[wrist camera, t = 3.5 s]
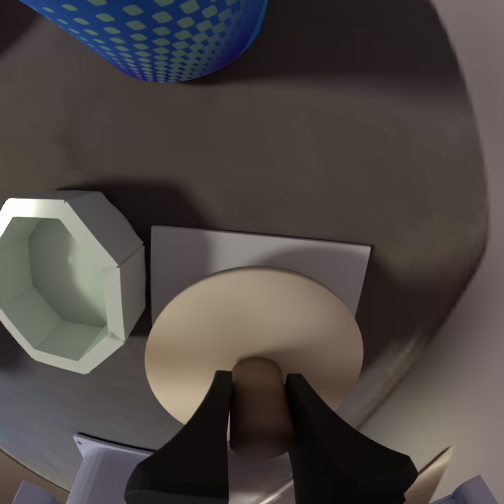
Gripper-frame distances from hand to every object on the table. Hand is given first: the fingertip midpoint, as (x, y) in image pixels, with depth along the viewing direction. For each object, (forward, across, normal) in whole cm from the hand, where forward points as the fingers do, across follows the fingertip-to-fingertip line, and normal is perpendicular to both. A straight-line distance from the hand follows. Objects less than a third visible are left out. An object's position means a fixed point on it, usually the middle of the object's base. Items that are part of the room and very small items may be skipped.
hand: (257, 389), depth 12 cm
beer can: (+5, +5, -17) cm, 19 cm away
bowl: (+5, +10, -3) cm, 12 cm away
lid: (+2, 0, 0) cm, 2 cm away
